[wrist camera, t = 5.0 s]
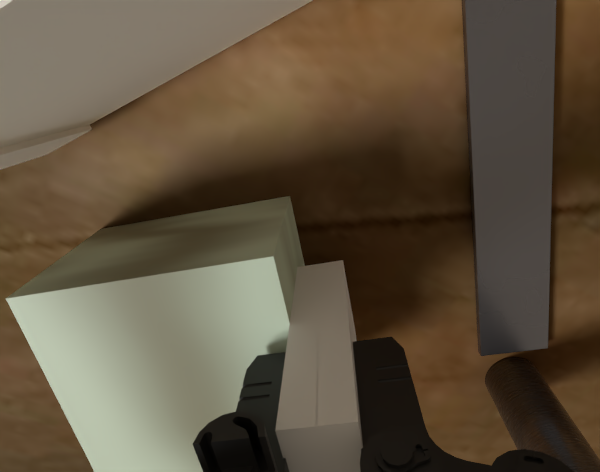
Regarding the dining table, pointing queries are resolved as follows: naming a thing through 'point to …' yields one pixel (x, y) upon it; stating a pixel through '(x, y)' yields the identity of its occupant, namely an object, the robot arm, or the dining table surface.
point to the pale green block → (161, 327)
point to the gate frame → (515, 213)
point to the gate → (104, 59)
